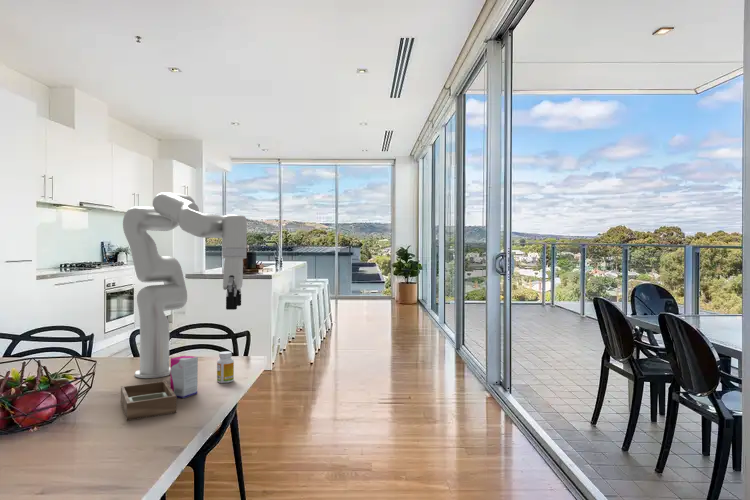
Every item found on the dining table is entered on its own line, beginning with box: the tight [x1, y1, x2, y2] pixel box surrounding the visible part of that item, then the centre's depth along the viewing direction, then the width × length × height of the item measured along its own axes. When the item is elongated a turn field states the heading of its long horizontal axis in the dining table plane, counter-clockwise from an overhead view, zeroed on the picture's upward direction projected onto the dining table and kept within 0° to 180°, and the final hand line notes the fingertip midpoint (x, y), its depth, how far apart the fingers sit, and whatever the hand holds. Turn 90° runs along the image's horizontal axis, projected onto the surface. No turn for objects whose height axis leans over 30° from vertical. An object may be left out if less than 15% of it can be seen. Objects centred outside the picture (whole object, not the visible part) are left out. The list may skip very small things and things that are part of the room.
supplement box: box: [169, 355, 199, 399], centre depth 148 cm, size 6×6×12 cm
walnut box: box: [120, 380, 177, 422], centre depth 136 cm, size 18×12×4 cm, turn 32°
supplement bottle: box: [216, 351, 235, 384], centre depth 163 cm, size 5×5×10 cm
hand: (233, 307), depth 154 cm, fingers open, 9 cm apart
